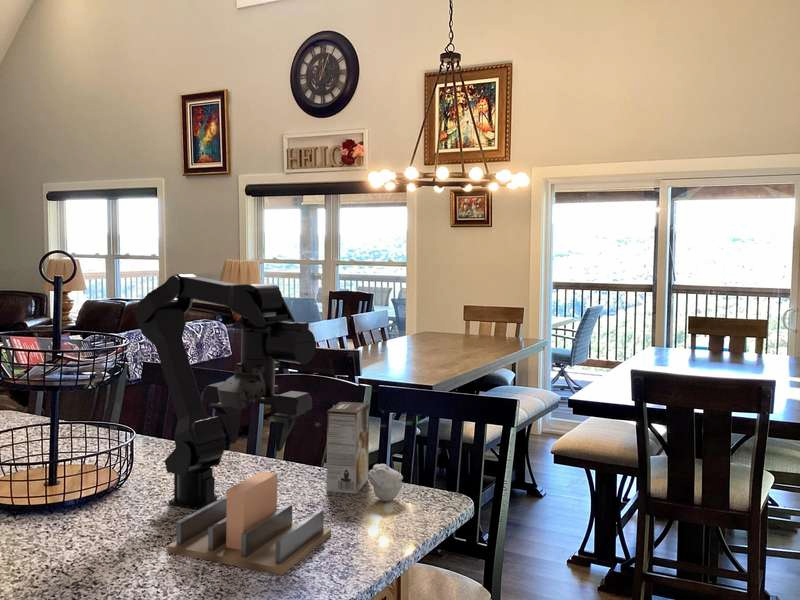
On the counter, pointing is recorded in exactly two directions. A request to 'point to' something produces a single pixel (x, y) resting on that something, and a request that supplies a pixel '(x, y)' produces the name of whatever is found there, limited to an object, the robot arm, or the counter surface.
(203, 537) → the rack base
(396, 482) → the white rounded lump
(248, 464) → the counter surface
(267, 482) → the peach rectangular block
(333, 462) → the coffee box
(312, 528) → the rack dividers
